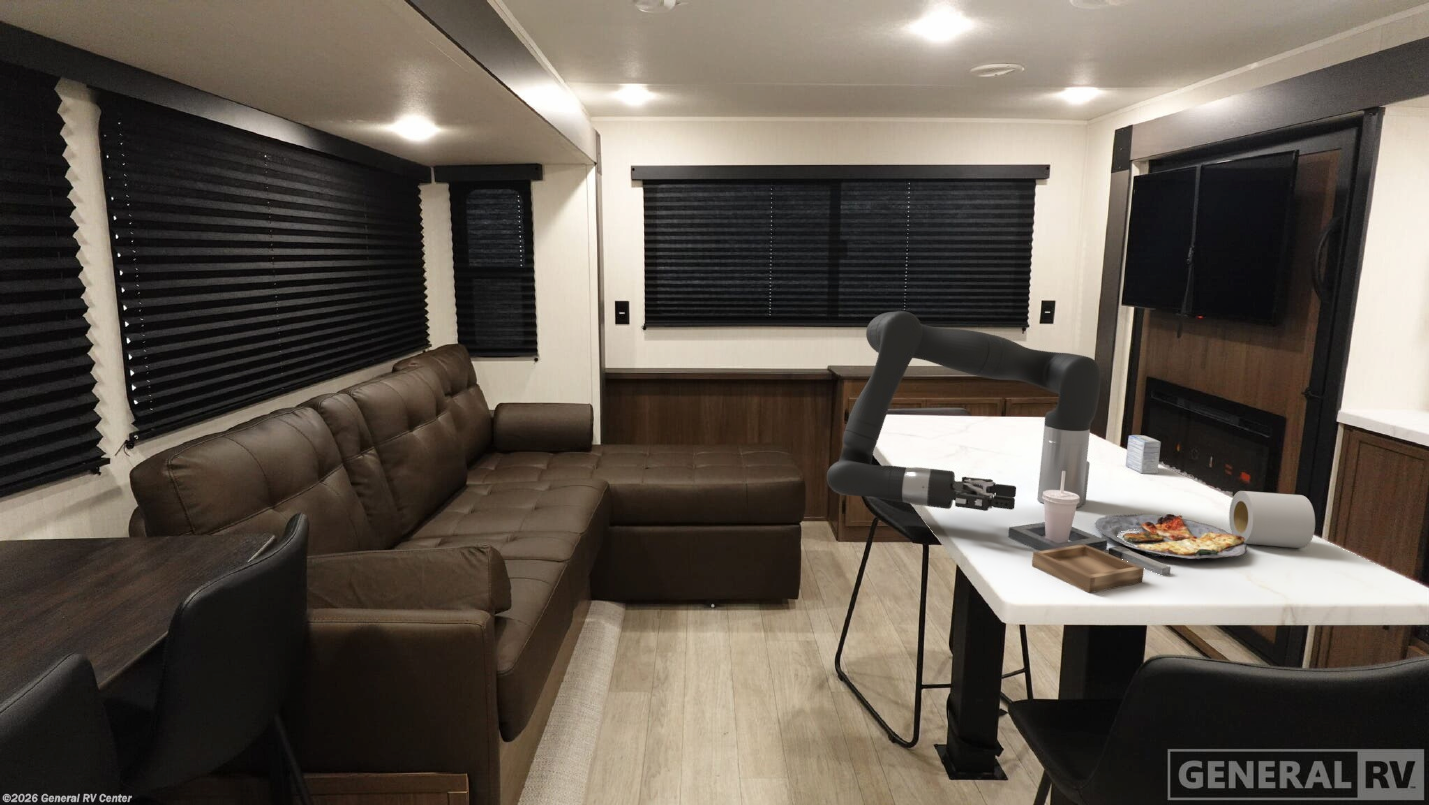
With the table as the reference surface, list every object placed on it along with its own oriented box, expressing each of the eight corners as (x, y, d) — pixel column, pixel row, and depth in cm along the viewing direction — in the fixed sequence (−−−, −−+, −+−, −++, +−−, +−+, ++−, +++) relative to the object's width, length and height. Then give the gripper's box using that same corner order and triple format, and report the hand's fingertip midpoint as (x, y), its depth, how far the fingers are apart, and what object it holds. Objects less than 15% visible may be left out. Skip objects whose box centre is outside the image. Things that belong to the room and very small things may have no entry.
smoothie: (1077, 542, 145) (1084, 471, 143) (1072, 552, 140) (1079, 478, 137) (1041, 535, 148) (1047, 465, 146) (1035, 545, 143) (1041, 473, 141)
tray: (1082, 557, 137) (1084, 544, 137) (1142, 582, 126) (1143, 568, 126) (1031, 566, 133) (1033, 552, 132) (1088, 592, 122) (1090, 578, 121)
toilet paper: (1283, 538, 150) (1291, 489, 148) (1310, 556, 140) (1318, 504, 138) (1226, 533, 152) (1233, 484, 150) (1248, 550, 142) (1256, 499, 141)
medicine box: (1157, 474, 197) (1161, 441, 195) (1140, 474, 197) (1144, 441, 195) (1141, 466, 204) (1145, 435, 203) (1124, 466, 205) (1128, 434, 203)
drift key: (1107, 555, 139) (1108, 547, 139) (1119, 553, 140) (1120, 546, 140) (1159, 576, 129) (1160, 568, 129) (1171, 574, 130) (1172, 566, 130)
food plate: (1179, 520, 159) (1180, 504, 158) (1277, 563, 136) (1280, 544, 136) (1070, 528, 155) (1071, 511, 154) (1154, 574, 132) (1156, 555, 132)
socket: (1055, 530, 152) (1056, 520, 151) (1106, 550, 141) (1107, 540, 140) (1008, 537, 147) (1009, 527, 147) (1057, 558, 136) (1058, 548, 136)
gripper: (924, 477, 145) (1016, 488, 138) (933, 461, 158) (1017, 469, 151) (922, 515, 146) (1012, 527, 140) (931, 496, 159) (1014, 506, 153)
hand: (1015, 497), depth 146 cm, fingers open, 8 cm apart
